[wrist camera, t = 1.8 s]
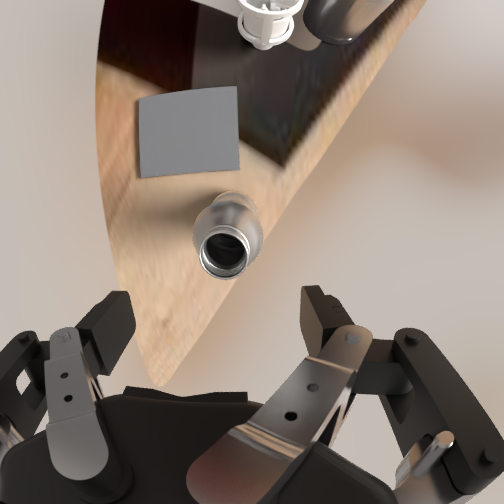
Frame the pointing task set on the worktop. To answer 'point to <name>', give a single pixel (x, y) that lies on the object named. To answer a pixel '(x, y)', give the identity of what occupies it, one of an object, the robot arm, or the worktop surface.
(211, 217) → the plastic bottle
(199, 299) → the worktop surface
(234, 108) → the board
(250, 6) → the white cylindrical piece
